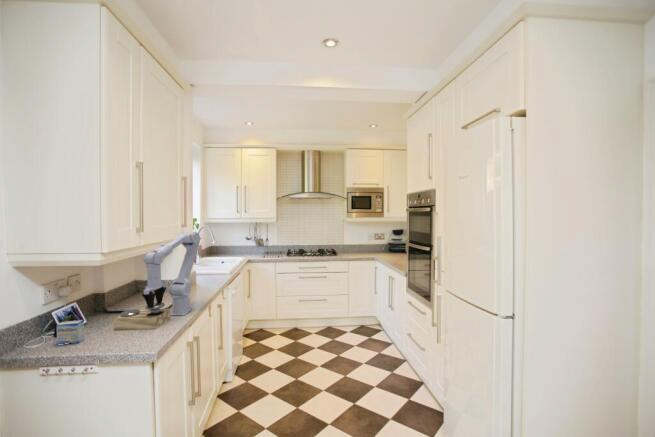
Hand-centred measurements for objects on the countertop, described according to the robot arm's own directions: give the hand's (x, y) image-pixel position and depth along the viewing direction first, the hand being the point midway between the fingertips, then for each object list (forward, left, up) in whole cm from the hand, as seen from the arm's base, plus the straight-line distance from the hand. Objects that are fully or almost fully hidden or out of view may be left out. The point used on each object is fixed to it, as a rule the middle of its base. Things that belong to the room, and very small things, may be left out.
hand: (155, 305), depth 147 cm
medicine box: (+19, -25, -10) cm, 33 cm away
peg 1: (0, -12, -8) cm, 14 cm away
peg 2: (0, 0, -5) cm, 5 cm away
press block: (0, -6, -9) cm, 11 cm away
